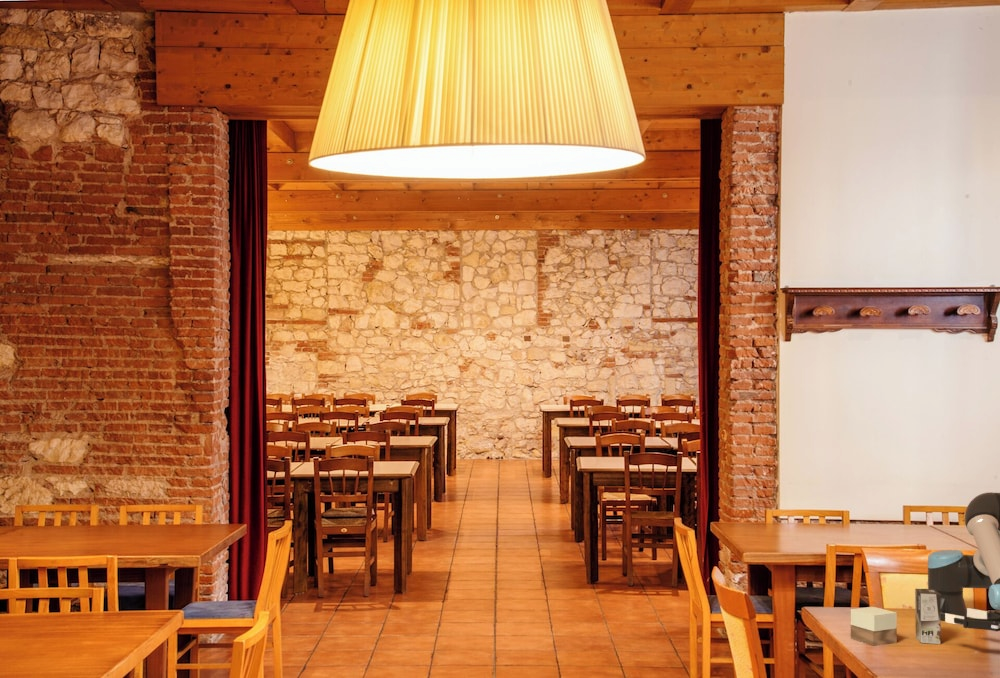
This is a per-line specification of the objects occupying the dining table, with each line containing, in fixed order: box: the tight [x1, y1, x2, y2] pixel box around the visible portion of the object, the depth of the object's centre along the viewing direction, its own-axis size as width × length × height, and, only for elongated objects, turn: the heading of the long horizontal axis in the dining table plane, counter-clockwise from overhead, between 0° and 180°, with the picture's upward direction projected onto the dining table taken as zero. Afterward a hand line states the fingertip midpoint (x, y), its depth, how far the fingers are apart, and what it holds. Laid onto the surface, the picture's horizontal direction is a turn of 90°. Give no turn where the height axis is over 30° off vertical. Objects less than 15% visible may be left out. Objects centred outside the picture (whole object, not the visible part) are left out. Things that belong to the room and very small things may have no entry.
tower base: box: [850, 624, 898, 647], centre depth 340 cm, size 10×10×5 cm
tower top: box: [850, 606, 898, 631], centre depth 340 cm, size 10×10×5 cm
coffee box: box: [914, 588, 942, 645], centre depth 341 cm, size 9×6×16 cm
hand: (956, 614), depth 333 cm, fingers open, 13 cm apart
